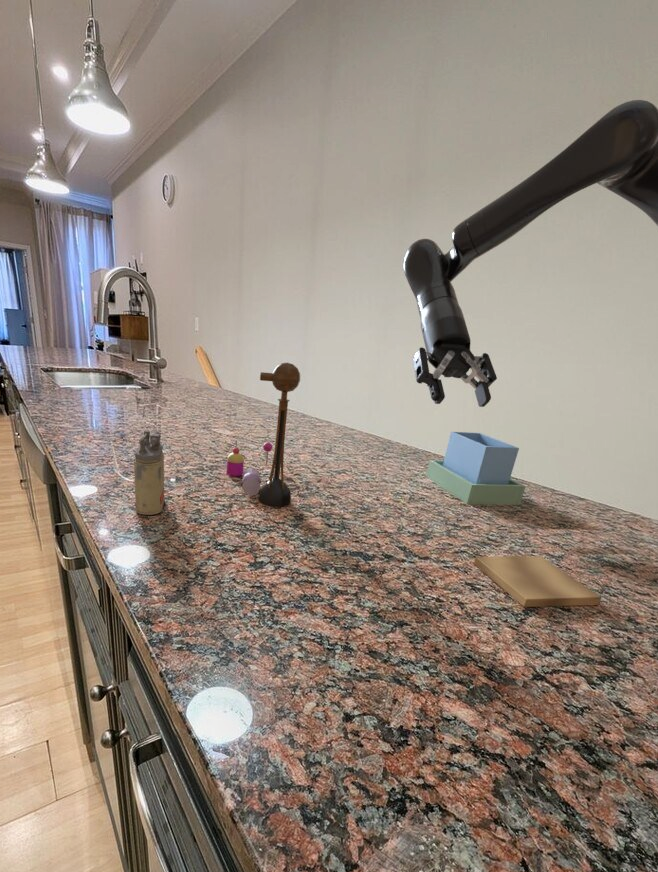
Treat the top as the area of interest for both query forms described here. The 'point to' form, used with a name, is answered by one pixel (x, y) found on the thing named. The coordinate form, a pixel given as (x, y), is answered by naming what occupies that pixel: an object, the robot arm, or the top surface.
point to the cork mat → (536, 581)
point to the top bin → (480, 458)
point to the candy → (250, 475)
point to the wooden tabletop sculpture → (279, 435)
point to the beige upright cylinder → (149, 475)
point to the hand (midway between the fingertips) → (462, 402)
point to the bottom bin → (474, 487)
